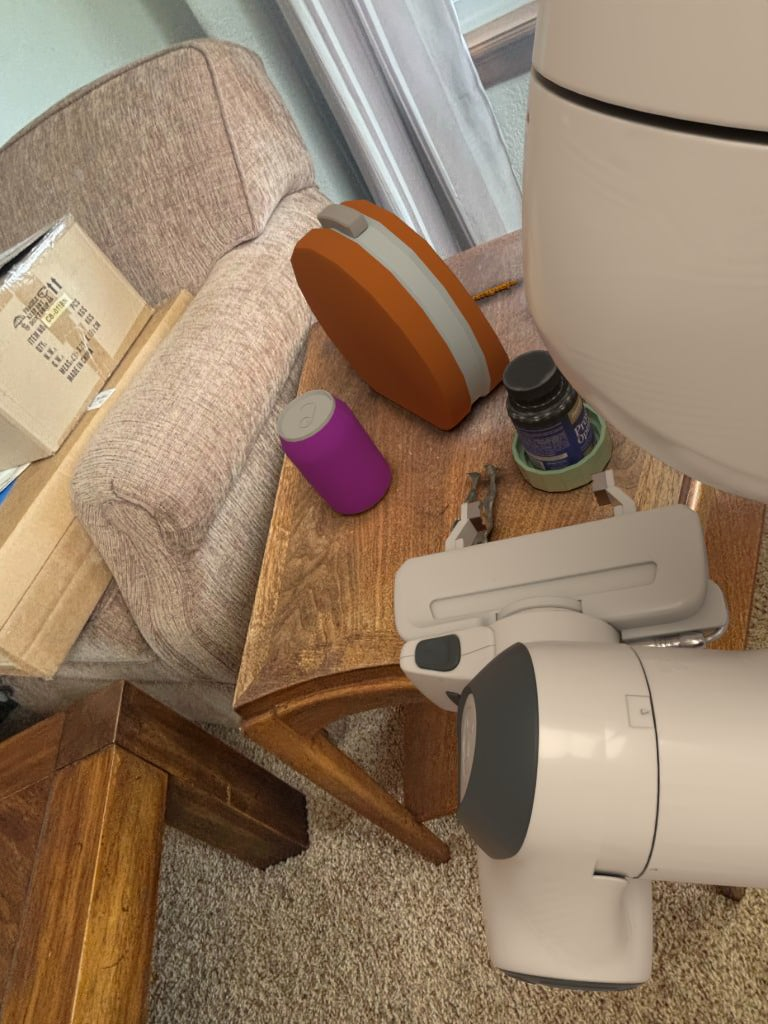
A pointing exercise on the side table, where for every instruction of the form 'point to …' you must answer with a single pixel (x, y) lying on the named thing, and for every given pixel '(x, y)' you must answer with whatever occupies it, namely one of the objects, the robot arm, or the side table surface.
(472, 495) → the figurine
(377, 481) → the beverage can
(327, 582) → the side table surface
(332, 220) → the alarm clock
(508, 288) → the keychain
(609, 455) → the bowl
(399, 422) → the side table surface
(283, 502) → the side table surface
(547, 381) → the pill bottle
